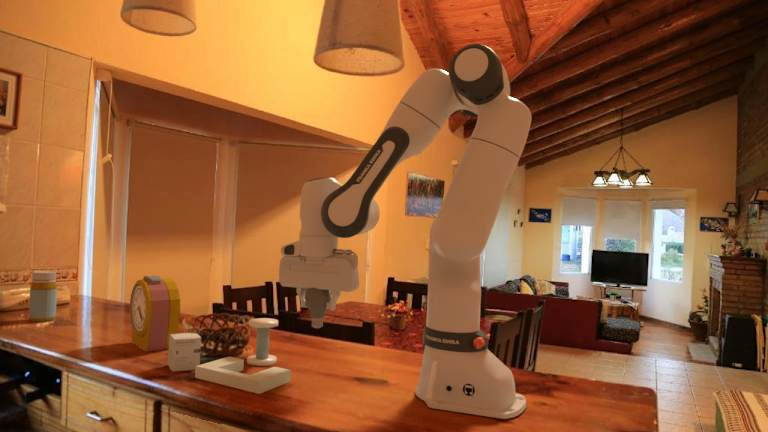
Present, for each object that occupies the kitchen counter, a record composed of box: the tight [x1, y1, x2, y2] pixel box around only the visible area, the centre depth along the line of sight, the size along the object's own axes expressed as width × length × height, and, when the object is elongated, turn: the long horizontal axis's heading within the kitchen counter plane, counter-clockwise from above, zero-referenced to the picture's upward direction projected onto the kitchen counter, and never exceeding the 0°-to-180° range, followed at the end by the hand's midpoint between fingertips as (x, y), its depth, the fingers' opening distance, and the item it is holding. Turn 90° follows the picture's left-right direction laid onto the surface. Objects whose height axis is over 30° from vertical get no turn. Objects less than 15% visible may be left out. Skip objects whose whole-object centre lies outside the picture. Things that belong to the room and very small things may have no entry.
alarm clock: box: [129, 275, 181, 352], centre depth 141 cm, size 15×8×18 cm, turn 42°
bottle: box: [28, 270, 58, 323], centre depth 164 cm, size 7×7×15 cm
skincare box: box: [167, 332, 202, 373], centre depth 122 cm, size 6×6×7 cm
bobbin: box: [246, 317, 279, 367], centre depth 130 cm, size 7×7×10 cm
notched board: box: [194, 356, 292, 395], centre depth 115 cm, size 18×10×2 cm, turn 62°
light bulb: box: [305, 288, 332, 329], centre depth 122 cm, size 6×6×10 cm
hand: (317, 308), depth 122 cm, fingers closed on light bulb, 6 cm apart
